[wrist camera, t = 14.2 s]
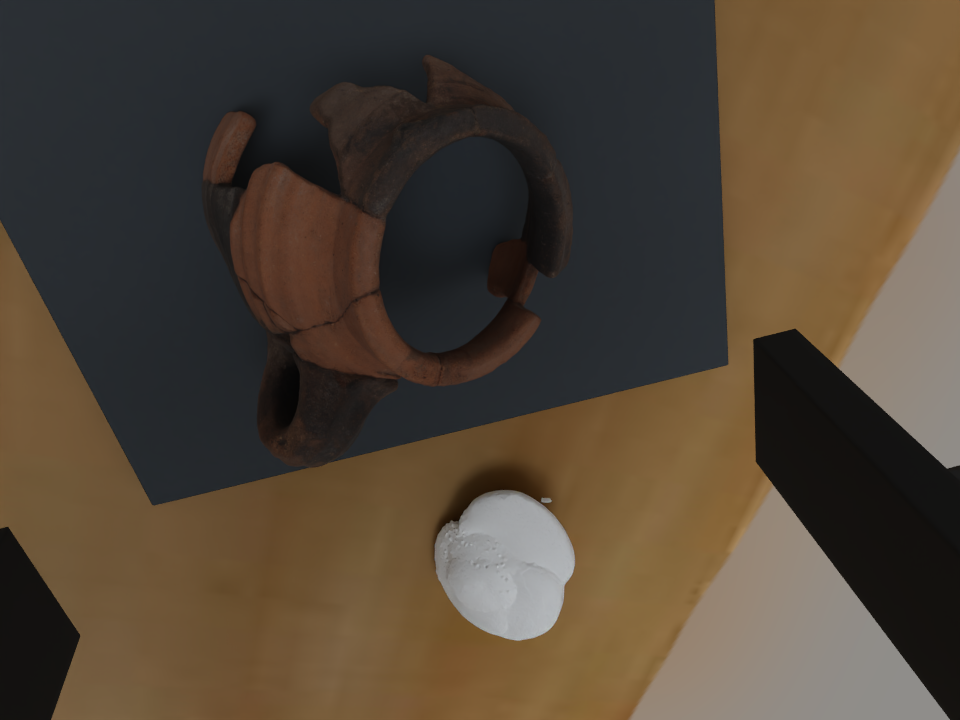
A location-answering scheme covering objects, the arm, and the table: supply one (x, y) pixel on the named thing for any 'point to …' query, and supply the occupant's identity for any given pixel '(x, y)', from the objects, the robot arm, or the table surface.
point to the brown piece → (368, 254)
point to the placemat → (306, 151)
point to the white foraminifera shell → (506, 564)
